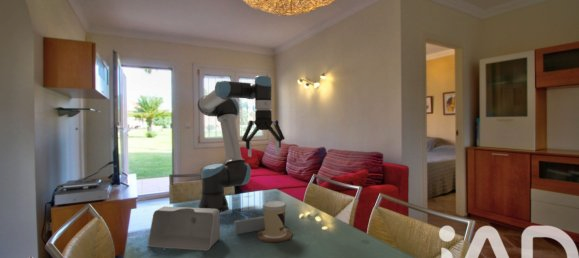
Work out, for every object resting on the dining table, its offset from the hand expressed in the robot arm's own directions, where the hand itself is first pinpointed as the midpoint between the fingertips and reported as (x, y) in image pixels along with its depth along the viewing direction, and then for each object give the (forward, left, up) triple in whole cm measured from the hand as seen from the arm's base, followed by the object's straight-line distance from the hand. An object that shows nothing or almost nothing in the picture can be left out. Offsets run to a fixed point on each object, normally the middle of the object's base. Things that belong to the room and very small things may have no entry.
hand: (263, 155), depth 128 cm
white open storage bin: (+5, -34, -31) cm, 46 cm away
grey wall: (+8, -5, -31) cm, 32 cm away
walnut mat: (+17, -2, -31) cm, 35 cm away
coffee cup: (+17, -2, -30) cm, 34 cm away
